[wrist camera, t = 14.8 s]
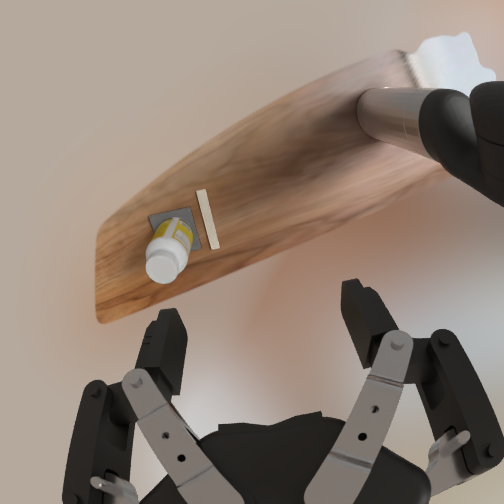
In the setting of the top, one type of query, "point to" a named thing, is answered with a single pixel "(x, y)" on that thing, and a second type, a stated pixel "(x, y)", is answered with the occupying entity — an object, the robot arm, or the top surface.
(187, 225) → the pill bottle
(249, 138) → the top surface
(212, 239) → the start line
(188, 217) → the mat
